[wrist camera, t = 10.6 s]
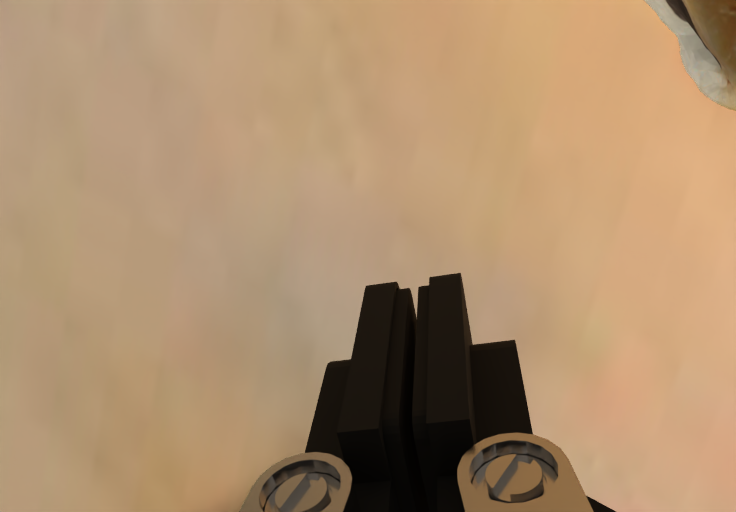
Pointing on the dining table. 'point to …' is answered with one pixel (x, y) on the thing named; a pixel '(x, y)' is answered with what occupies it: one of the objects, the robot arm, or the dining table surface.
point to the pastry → (705, 43)
